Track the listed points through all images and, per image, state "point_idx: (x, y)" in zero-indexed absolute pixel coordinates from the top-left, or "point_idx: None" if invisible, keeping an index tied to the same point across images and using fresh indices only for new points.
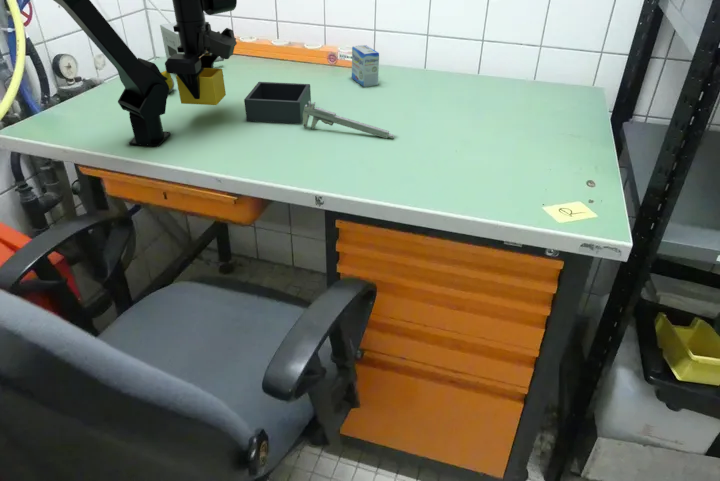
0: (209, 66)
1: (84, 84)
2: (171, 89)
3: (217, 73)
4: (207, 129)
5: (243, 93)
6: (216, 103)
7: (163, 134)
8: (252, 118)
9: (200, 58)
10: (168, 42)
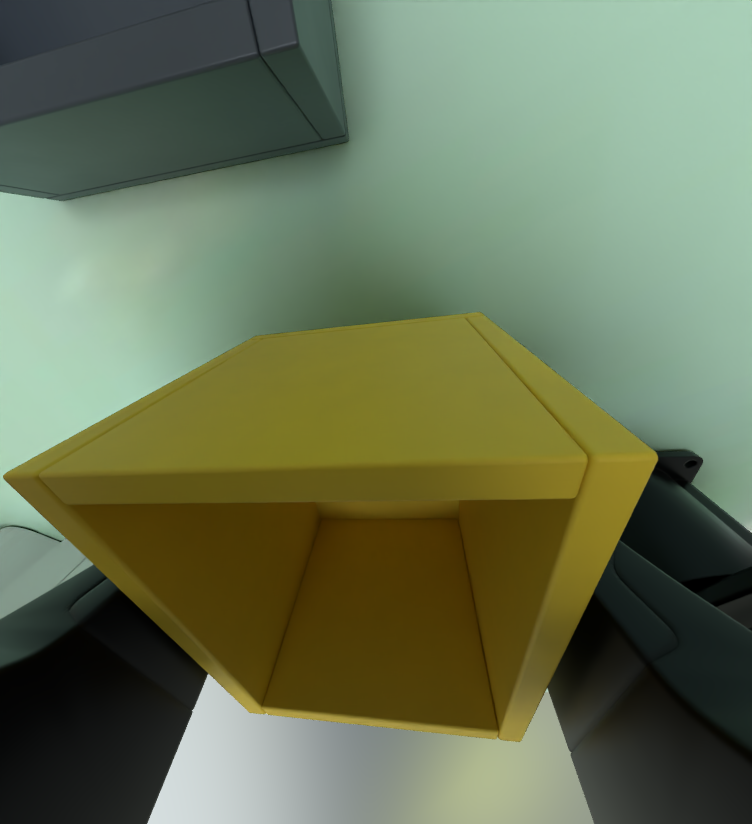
0: (110, 627)
1: None
2: None
3: (266, 462)
4: None
5: (55, 355)
6: (475, 315)
7: None
8: (337, 67)
9: (70, 822)
10: None
